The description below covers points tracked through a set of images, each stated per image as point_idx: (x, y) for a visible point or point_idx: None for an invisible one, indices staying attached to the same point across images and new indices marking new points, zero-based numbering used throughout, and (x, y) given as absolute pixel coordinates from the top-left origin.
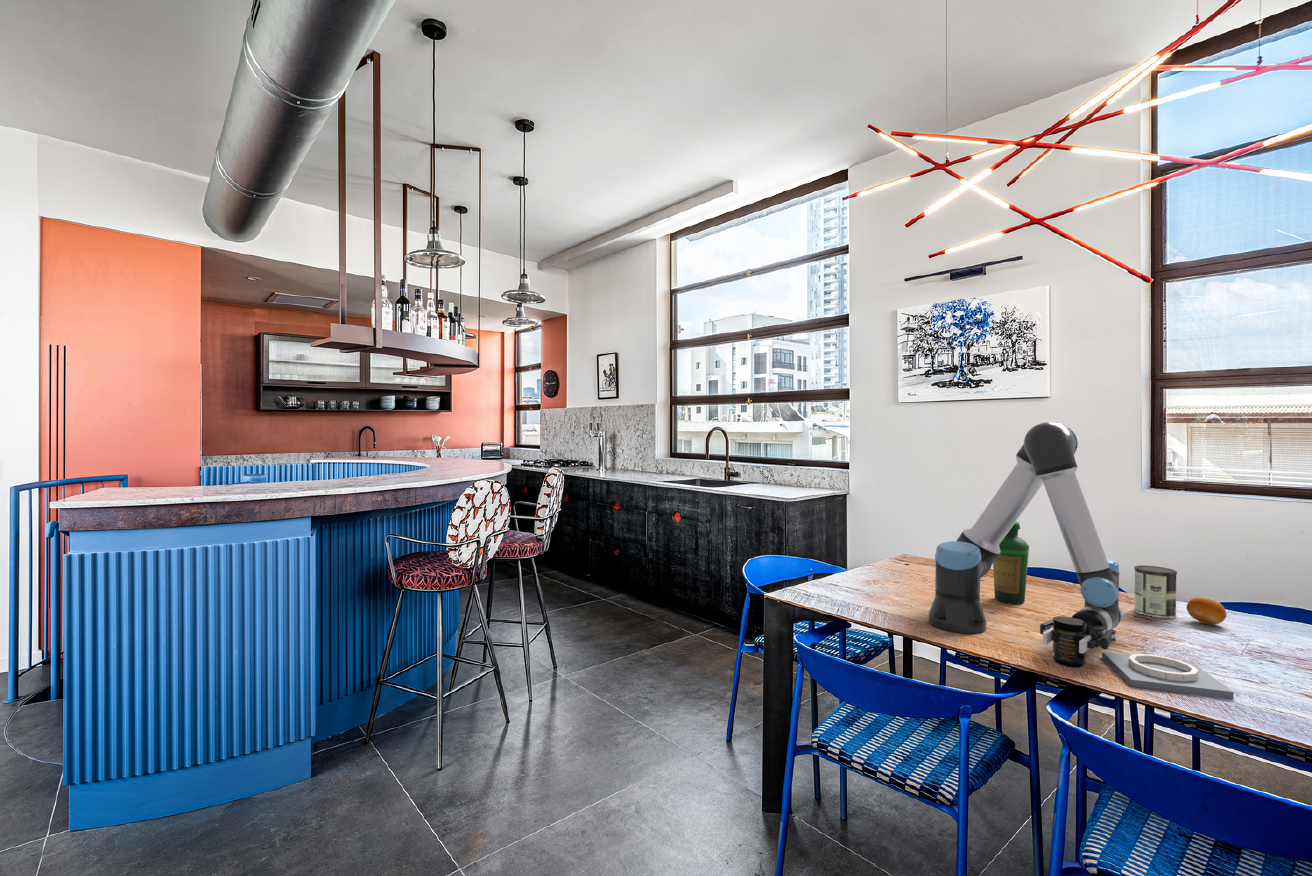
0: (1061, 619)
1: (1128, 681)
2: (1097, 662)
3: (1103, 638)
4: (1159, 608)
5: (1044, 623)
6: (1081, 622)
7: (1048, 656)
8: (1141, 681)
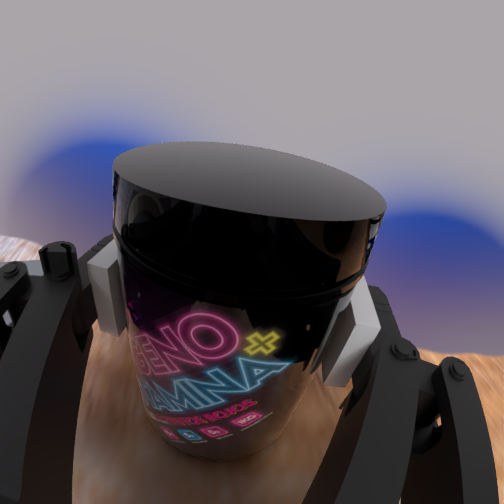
0: (312, 172)
1: None
2: (78, 476)
3: (20, 267)
4: None
5: (471, 406)
6: (156, 155)
7: (313, 436)
8: (30, 262)
